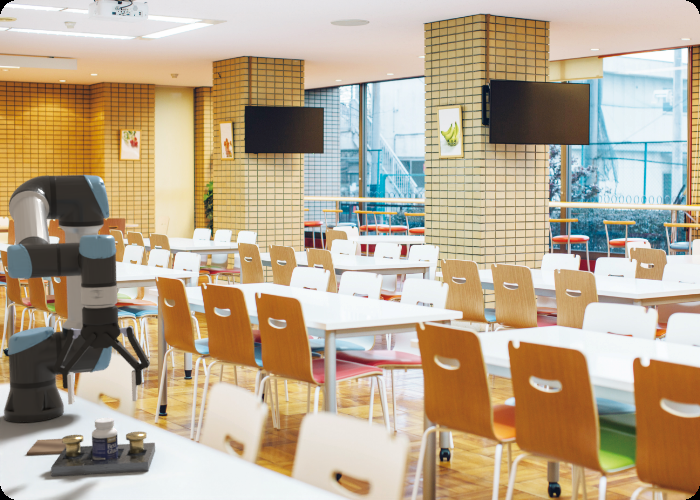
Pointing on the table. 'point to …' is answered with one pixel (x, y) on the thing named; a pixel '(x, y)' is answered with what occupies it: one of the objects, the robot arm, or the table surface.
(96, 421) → the pill bottle
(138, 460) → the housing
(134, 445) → the plunger
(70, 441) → the plunger
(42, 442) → the coaster
